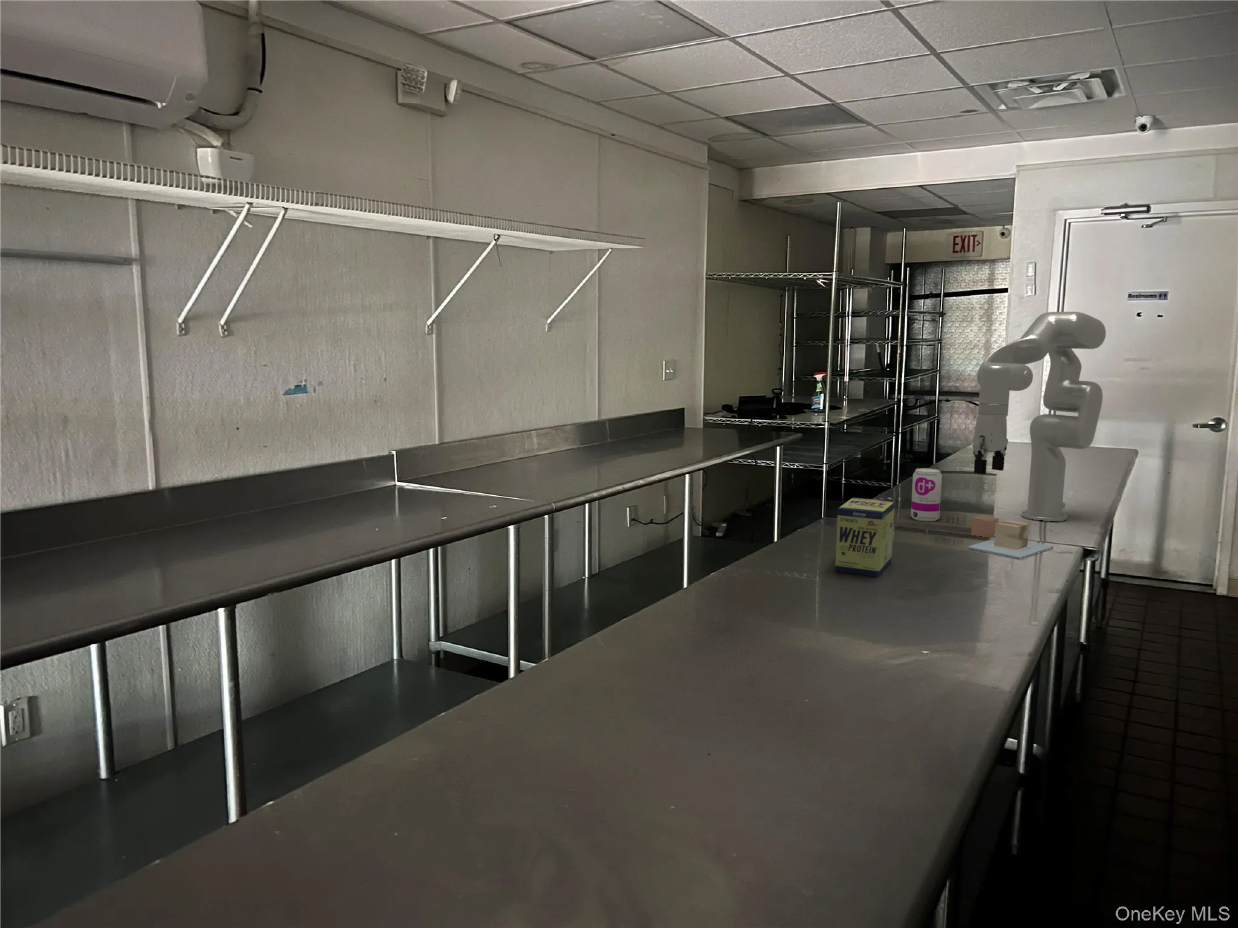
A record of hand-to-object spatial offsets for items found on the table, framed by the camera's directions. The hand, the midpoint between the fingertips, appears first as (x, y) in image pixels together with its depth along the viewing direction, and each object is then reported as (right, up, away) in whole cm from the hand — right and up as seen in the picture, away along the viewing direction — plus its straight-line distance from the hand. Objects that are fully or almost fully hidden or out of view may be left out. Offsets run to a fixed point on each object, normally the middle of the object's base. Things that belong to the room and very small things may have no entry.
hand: (988, 471), depth 244 cm
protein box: (-43, -23, -30) cm, 57 cm away
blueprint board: (+1, -20, -12) cm, 23 cm away
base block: (+1, -19, -12) cm, 23 cm away
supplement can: (-9, -15, +23) cm, 29 cm away
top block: (0, -18, +3) cm, 18 cm away
